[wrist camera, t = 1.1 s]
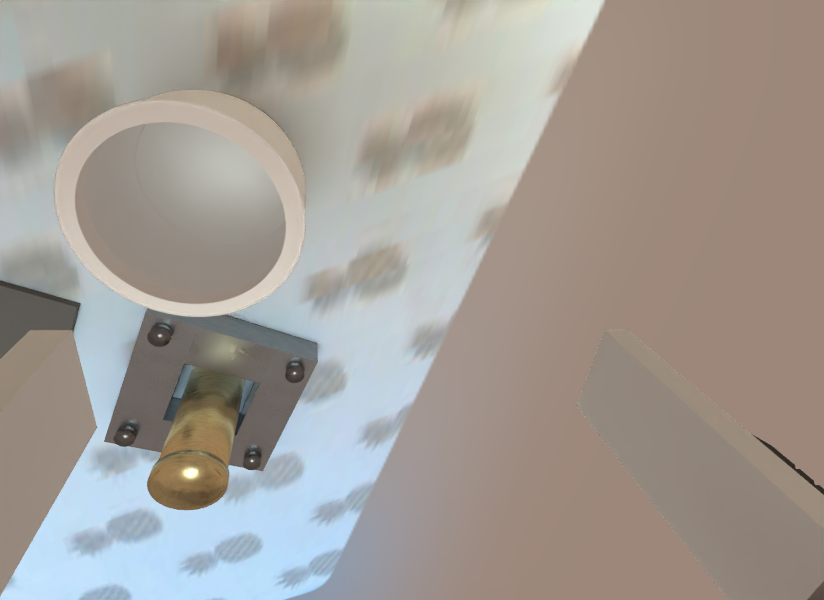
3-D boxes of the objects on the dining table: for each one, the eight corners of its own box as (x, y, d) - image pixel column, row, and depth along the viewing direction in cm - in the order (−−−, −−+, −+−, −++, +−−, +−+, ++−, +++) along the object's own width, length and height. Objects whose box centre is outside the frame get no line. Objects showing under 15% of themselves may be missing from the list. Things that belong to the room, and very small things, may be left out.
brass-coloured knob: (180, 394, 42) (138, 503, 32) (197, 350, 40) (158, 451, 30) (236, 407, 44) (214, 514, 33) (254, 366, 42) (237, 466, 32)
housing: (116, 417, 42) (100, 448, 38) (157, 293, 37) (142, 316, 34) (265, 448, 47) (261, 477, 44) (316, 343, 42) (317, 367, 39)
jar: (301, 85, 32) (297, 103, 19) (310, 224, 37) (311, 313, 24) (138, 78, 30) (10, 93, 17) (170, 226, 35) (88, 326, 22)
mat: (-56, 353, 36) (-62, 357, 35) (-44, 268, 33) (-50, 271, 32) (60, 379, 39) (57, 383, 38) (80, 303, 36) (77, 307, 36)
